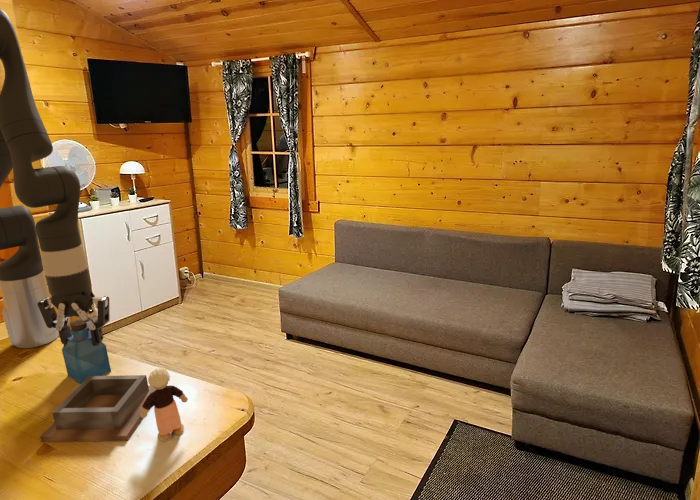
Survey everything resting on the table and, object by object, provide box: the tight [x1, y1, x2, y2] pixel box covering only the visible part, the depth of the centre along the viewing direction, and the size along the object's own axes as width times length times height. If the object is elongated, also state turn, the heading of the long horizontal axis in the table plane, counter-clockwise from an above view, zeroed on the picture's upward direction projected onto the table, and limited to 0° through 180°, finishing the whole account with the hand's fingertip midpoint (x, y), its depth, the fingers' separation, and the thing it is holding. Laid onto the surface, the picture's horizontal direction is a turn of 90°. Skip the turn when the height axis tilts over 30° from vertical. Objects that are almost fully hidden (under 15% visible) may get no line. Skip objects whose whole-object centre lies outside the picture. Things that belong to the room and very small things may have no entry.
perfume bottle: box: [61, 318, 112, 385], centre depth 101 cm, size 6×6×12 cm
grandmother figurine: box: [140, 367, 189, 442], centre depth 81 cm, size 8×4×13 cm, turn 141°
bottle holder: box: [39, 374, 157, 443], centre depth 88 cm, size 15×15×4 cm
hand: (83, 343), depth 101 cm, fingers closed on perfume bottle, 5 cm apart
